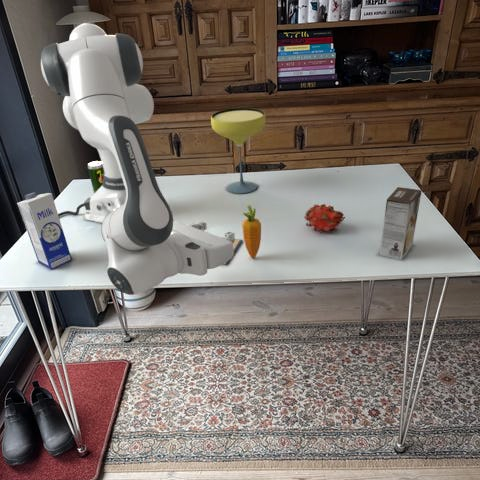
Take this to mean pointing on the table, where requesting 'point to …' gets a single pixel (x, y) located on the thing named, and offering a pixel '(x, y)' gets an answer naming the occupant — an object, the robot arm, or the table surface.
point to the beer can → (95, 174)
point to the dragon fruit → (323, 218)
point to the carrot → (252, 232)
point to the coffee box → (400, 222)
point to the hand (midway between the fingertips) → (218, 229)
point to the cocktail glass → (239, 135)
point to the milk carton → (45, 229)
